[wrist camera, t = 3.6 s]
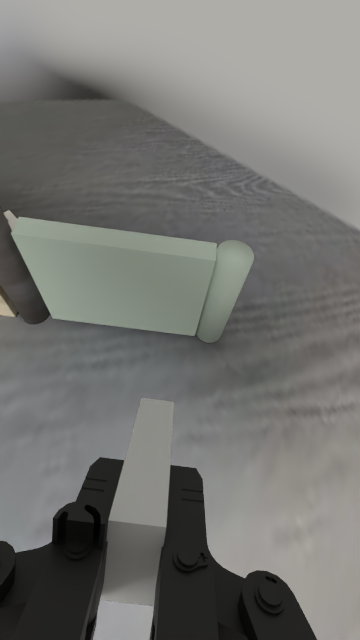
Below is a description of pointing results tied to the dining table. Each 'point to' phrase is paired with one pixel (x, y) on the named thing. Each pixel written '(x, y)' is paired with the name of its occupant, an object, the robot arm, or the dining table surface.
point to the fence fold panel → (134, 277)
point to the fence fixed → (17, 281)
